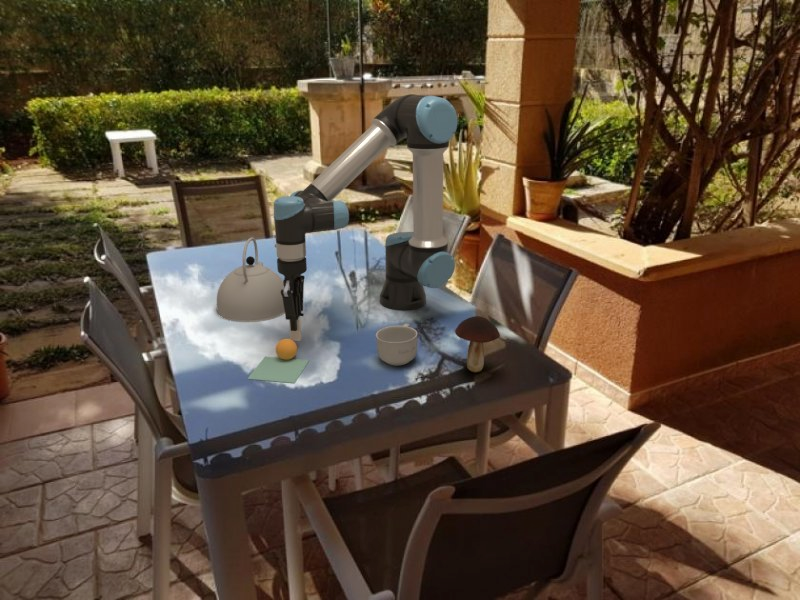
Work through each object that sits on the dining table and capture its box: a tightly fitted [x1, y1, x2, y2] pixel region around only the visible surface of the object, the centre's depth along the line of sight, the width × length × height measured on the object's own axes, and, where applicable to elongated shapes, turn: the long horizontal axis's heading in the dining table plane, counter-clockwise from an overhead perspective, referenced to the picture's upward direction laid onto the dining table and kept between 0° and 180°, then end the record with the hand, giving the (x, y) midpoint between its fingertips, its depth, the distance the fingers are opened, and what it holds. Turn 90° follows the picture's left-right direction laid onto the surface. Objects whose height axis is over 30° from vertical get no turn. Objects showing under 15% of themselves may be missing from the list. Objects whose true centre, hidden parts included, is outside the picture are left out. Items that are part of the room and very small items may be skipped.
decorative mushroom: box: [454, 315, 501, 373], centre depth 148 cm, size 11×11×15 cm
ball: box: [275, 338, 298, 360], centre depth 155 cm, size 6×6×6 cm
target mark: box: [247, 356, 310, 384], centre depth 150 cm, size 12×12×1 cm
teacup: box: [375, 323, 418, 367], centre depth 155 cm, size 14×11×8 cm
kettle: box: [216, 236, 285, 323], centre depth 185 cm, size 25×23×22 cm
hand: (296, 339), depth 162 cm, fingers closed
